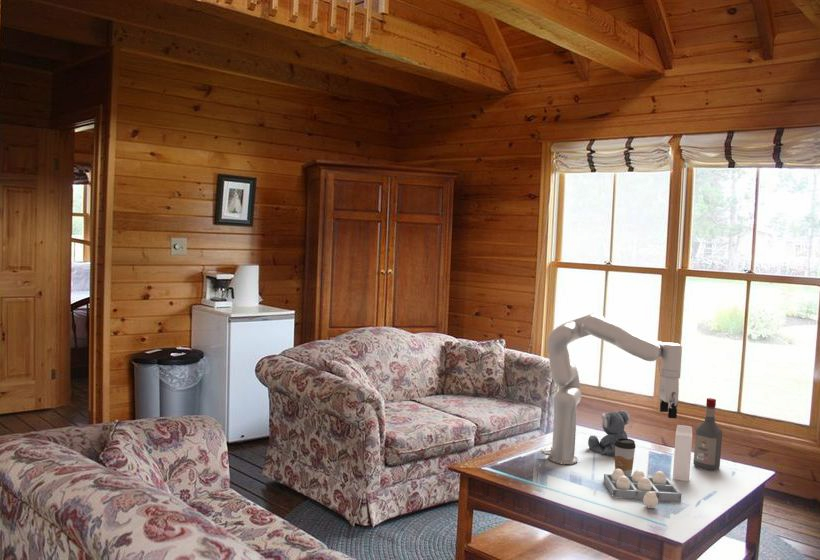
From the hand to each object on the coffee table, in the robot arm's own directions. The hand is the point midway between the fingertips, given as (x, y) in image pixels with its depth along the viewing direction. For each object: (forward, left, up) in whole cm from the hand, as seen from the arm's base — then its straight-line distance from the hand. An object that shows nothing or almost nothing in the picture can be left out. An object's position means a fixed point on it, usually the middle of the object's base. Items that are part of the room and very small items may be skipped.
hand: (667, 414), depth 283 cm
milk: (+7, +1, -27) cm, 28 cm away
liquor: (+23, +17, -27) cm, 39 cm away
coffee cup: (-17, -1, -27) cm, 31 cm away
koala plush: (-14, +30, -27) cm, 43 cm away
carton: (-14, -17, -26) cm, 34 cm away
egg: (-15, -33, -27) cm, 45 cm away
